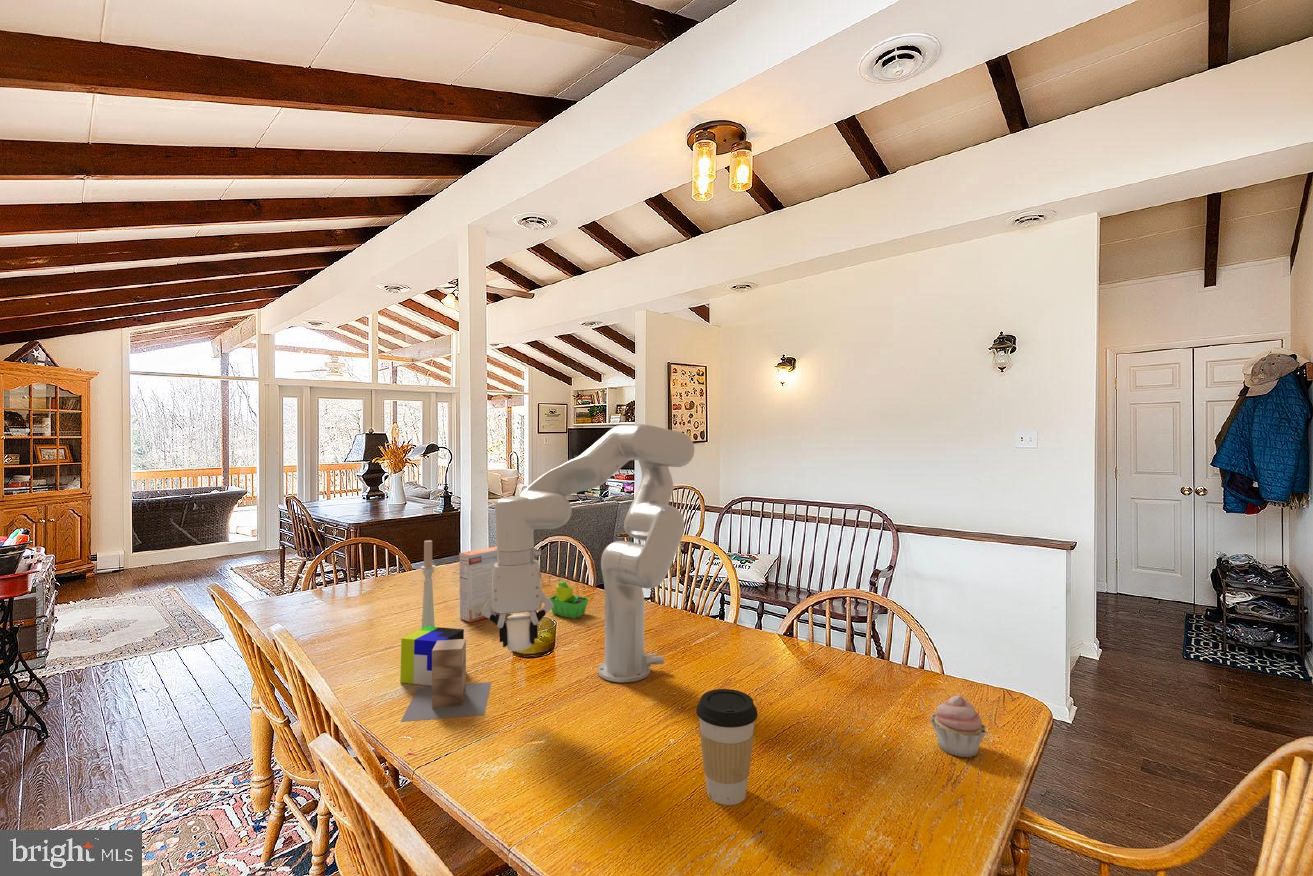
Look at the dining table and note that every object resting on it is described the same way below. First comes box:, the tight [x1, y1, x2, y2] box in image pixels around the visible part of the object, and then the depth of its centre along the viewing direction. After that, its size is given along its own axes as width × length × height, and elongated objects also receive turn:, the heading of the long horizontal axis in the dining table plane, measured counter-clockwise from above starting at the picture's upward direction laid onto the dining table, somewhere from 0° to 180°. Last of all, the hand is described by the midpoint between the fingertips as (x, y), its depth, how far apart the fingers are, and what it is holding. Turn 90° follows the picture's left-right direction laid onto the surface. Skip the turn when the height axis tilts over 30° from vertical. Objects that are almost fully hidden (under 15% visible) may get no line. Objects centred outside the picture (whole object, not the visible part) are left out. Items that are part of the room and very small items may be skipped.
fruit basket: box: [548, 580, 590, 619], centre depth 187 cm, size 11×9×11 cm
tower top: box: [432, 638, 467, 679], centre depth 126 cm, size 6×6×6 cm
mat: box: [400, 681, 492, 723], centre depth 126 cm, size 16×16×1 cm
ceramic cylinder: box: [505, 613, 533, 652], centre depth 122 cm, size 5×5×6 cm
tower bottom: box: [432, 666, 467, 708], centre depth 126 cm, size 6×6×6 cm
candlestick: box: [420, 539, 436, 629], centre depth 153 cm, size 13×13×30 cm
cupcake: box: [929, 695, 988, 759], centre depth 108 cm, size 9×9×10 cm
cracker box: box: [458, 545, 499, 623], centre depth 185 cm, size 14×6×21 cm, turn 140°
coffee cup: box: [695, 688, 759, 806], centre depth 94 cm, size 10×10×15 cm
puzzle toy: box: [399, 626, 465, 686], centre depth 138 cm, size 10×10×10 cm
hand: (519, 642), depth 122 cm, fingers closed on ceramic cylinder, 5 cm apart
